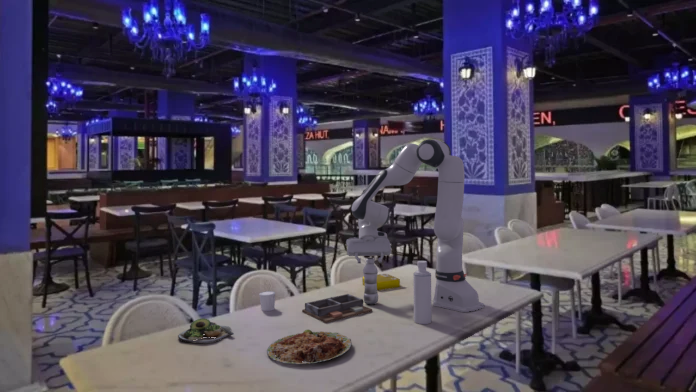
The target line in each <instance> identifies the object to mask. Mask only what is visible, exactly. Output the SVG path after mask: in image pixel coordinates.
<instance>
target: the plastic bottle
mask: <svg viewBox="0 0 696 392" xmlns="http://www.w3.org/2000/svg"><path fill="white" fill-rule="evenodd" d="M365 263H366V264H365V265H364V266H363V270H362V273H363V276H364V282H365V286H364V293H363V303H365V304H366V305H376V304H378V302H379V294H378V290H377V275H378V272H379V271H378V267H377V266H376V265H375V258H374V257H366V259H365Z"/></svg>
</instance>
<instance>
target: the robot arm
mask: <svg viewBox="0 0 696 392" xmlns="http://www.w3.org/2000/svg"><path fill="white" fill-rule="evenodd" d="M423 164H424V165H427V166H430V167H433V168H436V169H437V173H438V179H437V199H436V205H435V214H434V221H433V232H434V235H435V236H436V237H437V244H436V253H435V255H436V257H435V258H436V269H435V272H434V273H435V275H434V276H435V280H436V281H435V289H434V294H433V295H434V296H433V300H432V302H433V304H432V305H433V306H434V307H438V308H444V309H448V310H452V311H456V312H460V313H461V312H462V313H469V311H471V312H475V310H476V311H479V310H482V309H483V307H484V308H485V303H483V302H480V300H479V294H478V292H477V290H476V289H475V288H474V287H473V286H472V285H471V284H470V283H469V282H468V281H467V279H466V277H467V276H468V273H465V272H464V270H463V249H464V248H463V247H464V246H463V243H464V229H465V228H464V226H465V225H464V220H463V218H462V214H463V204H464V199H465V198H464V193H465V165H464V161H463V160H462V158H461V157H459V156H456V155H452V149H451V147H450V145H449V144H447V143H446V142H444V141H443V140H442V141H441V140H439V139H430V138H428V139H425V140H423V141H420V143H419V144H416V143H408V144H405V146H404V147H403V148H402V149H401V150H400V152H399V153H398V154H397V156H396V157H395V159H394V161H393V162H392V164H391V165H390V166H389V167H387V168H385V169H382V170H380V171H379V172H378V173H377V174H376V175H375V176H374V178H373V179H372V180H371V182H370V183H369V184H368V185H367V186H366V188H365V189H364V190H363V192H362V193H361V194H360V195H359V196H358V197H356V199H354V201H353V202H352V204H351V208H350V209H351V210H350V211H351V213H352V215H353V217H354V218H355V219H357V220H358V221H357V223H358V224H357V225H358V229H359V230H358V237H349V238H348V239H346V240H345V242H346V246H347V247H346V255H347V256H349V257H354V259H356V261H357V264H361V263H362V258H361V257H371V256H372V257H373V256H375V257H376V256H380V257H378V259H377V261H378V264H382V262H383V259H384V256H390V255H391V254H392V246H391V242H390V240H389V238H388V234H387V233H386V232H384V231H379V230H378V229H380V228H381V227H383V226H385V225H386V224H387V223H389V221H390V216H391V215H390V209H389V207H388V206H386V205H384V204H381V203H379V202H375V201H373V199H374V198H375V196H376V195H377V193H379V190H381V189H382V188H384V187H388V186H389V187H390V186H404V185H407V184H409V183H410V182H411V181H412V180H413V178H414V177H415V176H416V173H417V172H418V170H419V168H420V167H421V165H423ZM481 308H482V309H481ZM478 309H479V310H478Z"/></svg>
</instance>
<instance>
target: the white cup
mask: <svg viewBox="0 0 696 392" xmlns="http://www.w3.org/2000/svg"><path fill="white" fill-rule="evenodd" d="M258 294H259V302H260V309H261V310H260V311H262V312H270V311H271V312H272V311H273V310H275V306H276V305H275V304H276V302H275V301H276V291H271V290H267V291H261V292H260V293H258Z"/></svg>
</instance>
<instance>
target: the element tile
mask: <svg viewBox="0 0 696 392" xmlns="http://www.w3.org/2000/svg"><path fill="white" fill-rule="evenodd" d="M361 282H362V286H364V287H365V282H364V275H363V276H362V281H361ZM397 288H401V279H400V278H399V277H396V276H393V275H391V274H388V273H380V274H378V273H377V291H383V290H390V289H391V290H392V289H397Z"/></svg>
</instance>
